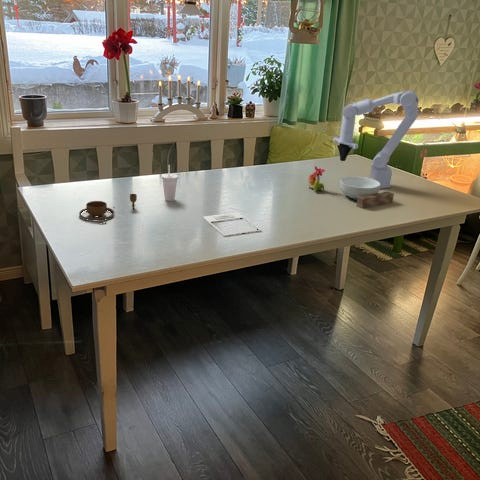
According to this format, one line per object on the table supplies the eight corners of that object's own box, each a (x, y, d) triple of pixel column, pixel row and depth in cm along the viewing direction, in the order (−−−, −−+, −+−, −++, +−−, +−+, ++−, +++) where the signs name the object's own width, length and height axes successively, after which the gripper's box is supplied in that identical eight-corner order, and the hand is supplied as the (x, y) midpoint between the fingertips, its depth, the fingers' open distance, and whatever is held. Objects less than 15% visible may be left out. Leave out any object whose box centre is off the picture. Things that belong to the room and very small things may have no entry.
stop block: (386, 200, 216) (388, 191, 215) (392, 202, 214) (394, 193, 212) (356, 205, 207) (357, 196, 206) (361, 208, 205) (363, 198, 203)
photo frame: (238, 211, 190) (261, 229, 176) (237, 214, 191) (261, 232, 176) (202, 216, 184) (224, 234, 169) (202, 219, 184) (223, 237, 170)
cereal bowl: (346, 188, 228) (349, 173, 226) (382, 196, 221) (385, 181, 218) (332, 197, 215) (334, 181, 212) (369, 206, 207) (372, 190, 204)
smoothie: (158, 199, 198) (158, 165, 193) (167, 195, 204) (168, 161, 198) (171, 203, 196) (172, 168, 190) (181, 199, 201) (181, 164, 195)
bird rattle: (304, 193, 224) (317, 191, 217) (300, 168, 224) (313, 165, 216) (315, 192, 228) (328, 189, 220) (311, 167, 227) (325, 164, 219)
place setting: (82, 208, 187) (81, 193, 184) (137, 208, 191) (137, 193, 188) (77, 226, 171) (76, 210, 169) (137, 225, 175) (137, 209, 173)
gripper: (329, 128, 234) (326, 157, 240) (351, 135, 223) (347, 165, 229) (341, 127, 238) (337, 156, 243) (363, 134, 227) (358, 164, 232)
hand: (342, 160), depth 236 cm, fingers closed
